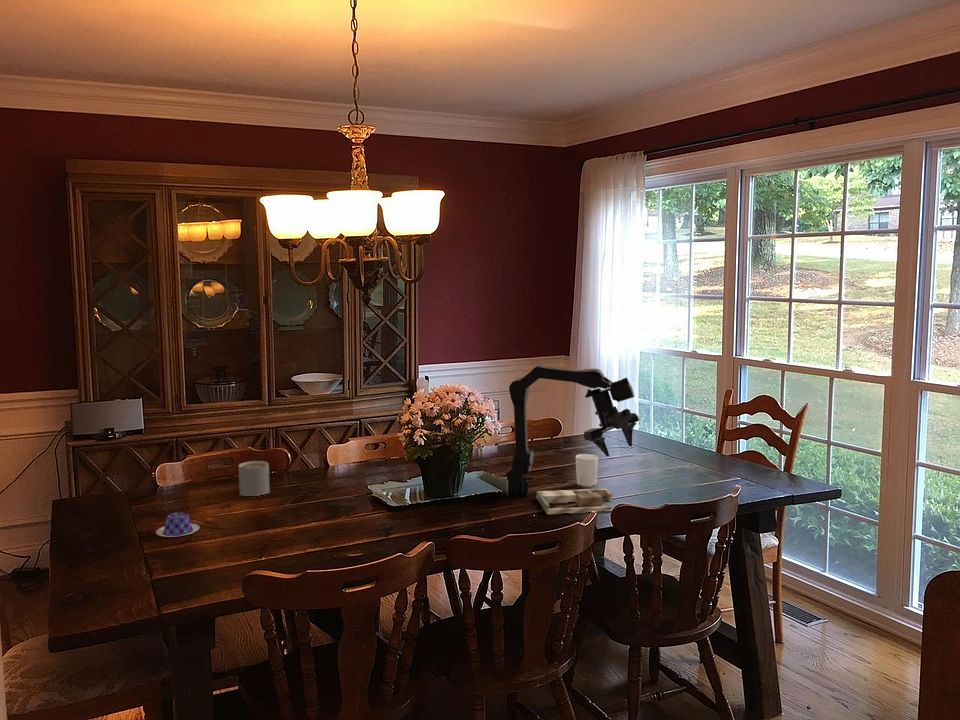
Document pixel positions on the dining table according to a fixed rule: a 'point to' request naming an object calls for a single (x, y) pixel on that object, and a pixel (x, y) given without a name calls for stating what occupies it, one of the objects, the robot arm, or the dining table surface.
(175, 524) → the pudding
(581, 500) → the walnut block
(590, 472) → the white cup
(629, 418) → the robot arm
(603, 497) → the trap lane
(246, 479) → the coffee mug
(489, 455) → the dining table surface
